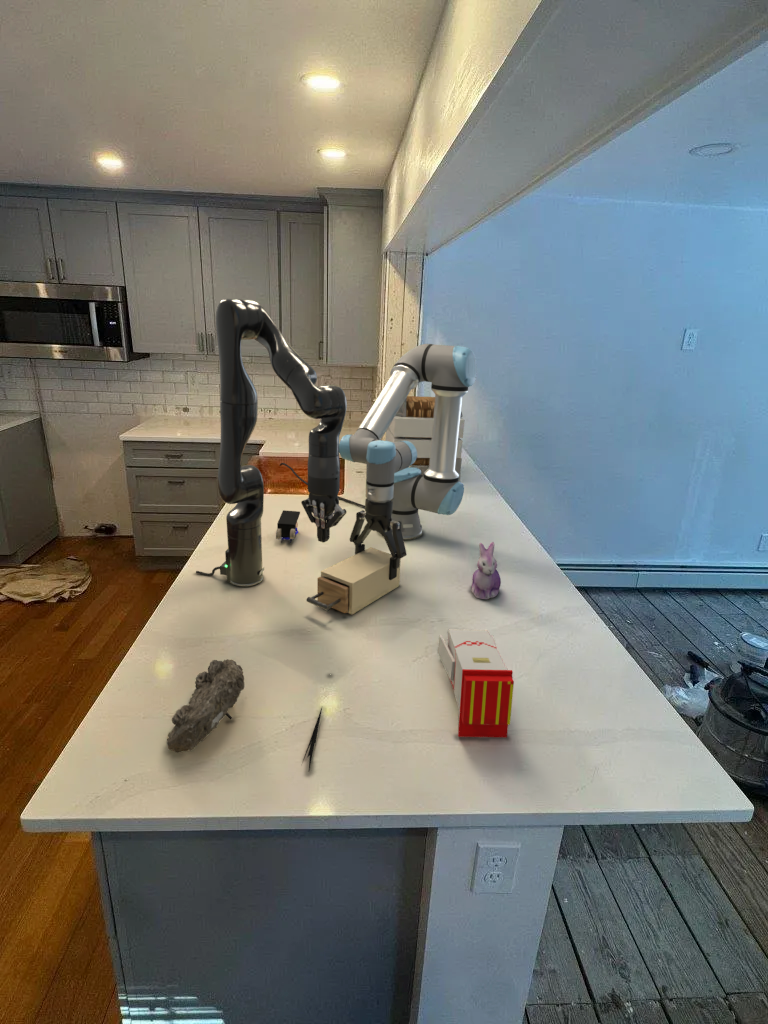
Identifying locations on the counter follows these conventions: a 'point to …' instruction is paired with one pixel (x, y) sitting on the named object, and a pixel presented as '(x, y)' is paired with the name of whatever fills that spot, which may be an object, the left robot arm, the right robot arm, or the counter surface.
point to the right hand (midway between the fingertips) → (376, 572)
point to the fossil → (206, 705)
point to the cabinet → (364, 577)
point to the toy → (478, 682)
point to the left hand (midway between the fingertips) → (323, 540)
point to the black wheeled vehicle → (287, 525)
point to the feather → (313, 740)
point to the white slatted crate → (419, 429)
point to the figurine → (486, 574)
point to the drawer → (331, 595)
